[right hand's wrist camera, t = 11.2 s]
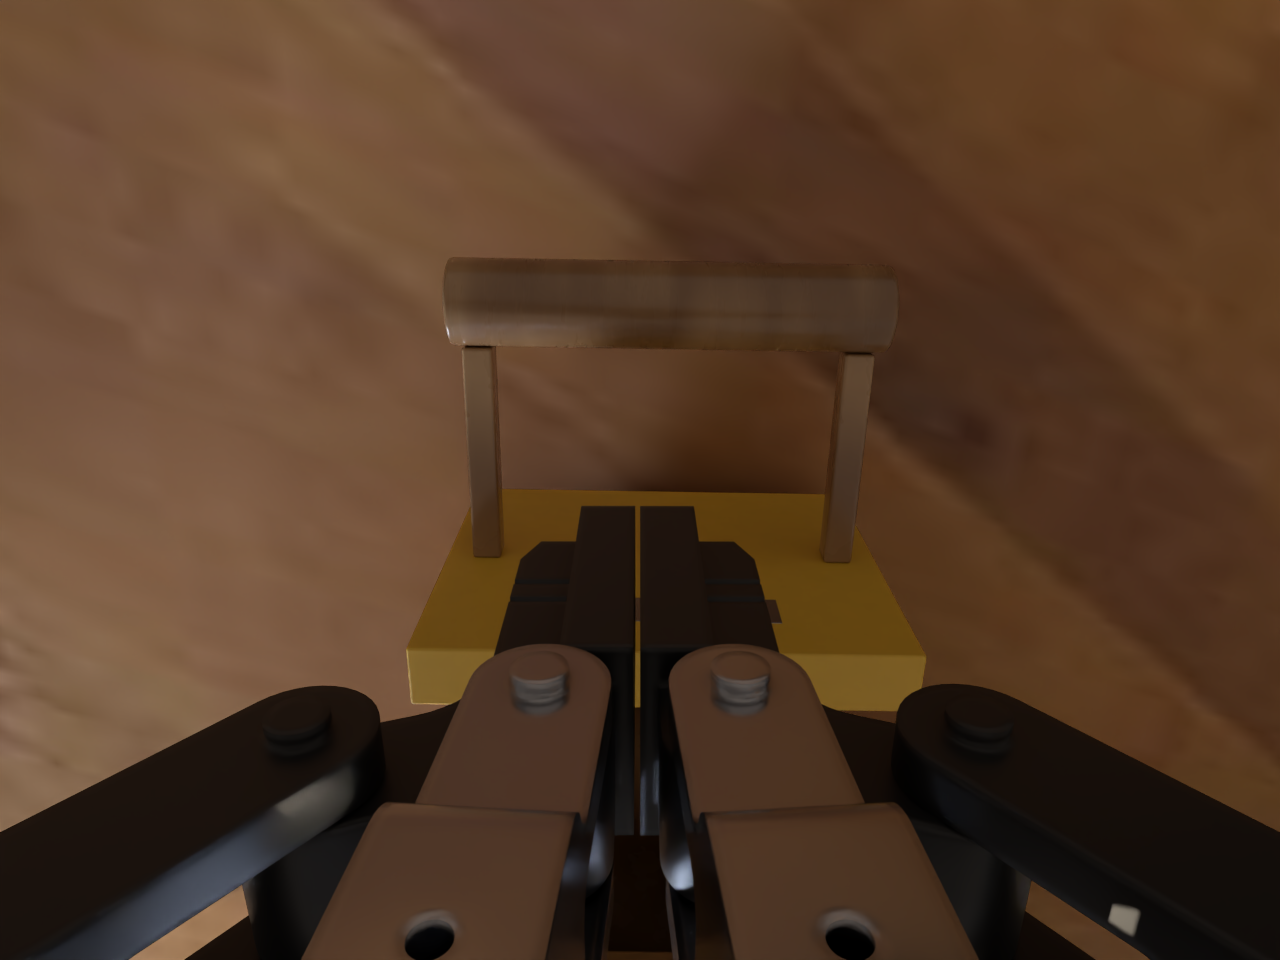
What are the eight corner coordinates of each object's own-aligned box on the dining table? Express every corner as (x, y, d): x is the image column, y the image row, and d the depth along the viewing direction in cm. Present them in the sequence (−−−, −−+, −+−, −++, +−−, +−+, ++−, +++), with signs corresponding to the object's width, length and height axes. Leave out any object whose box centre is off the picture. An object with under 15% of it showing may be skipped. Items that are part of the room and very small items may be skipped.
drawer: (464, 235, 20) (372, 291, 13) (866, 242, 20) (984, 302, 13) (504, 987, 29) (461, 1258, 22) (785, 991, 29) (831, 1262, 22)
